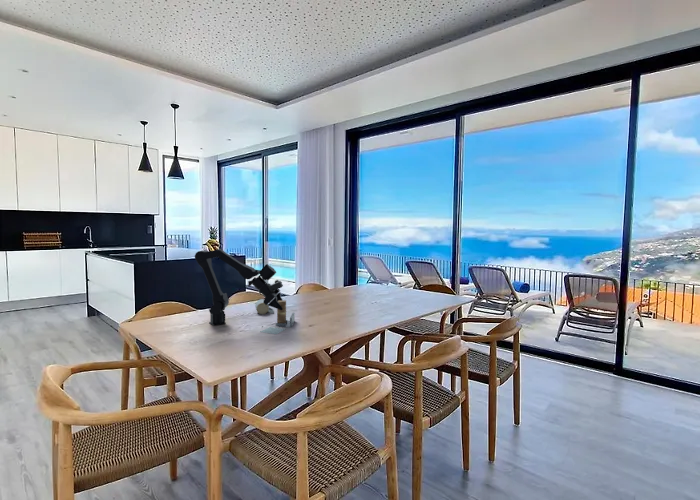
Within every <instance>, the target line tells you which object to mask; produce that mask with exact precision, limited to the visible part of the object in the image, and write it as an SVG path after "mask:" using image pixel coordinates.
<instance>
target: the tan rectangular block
mask: <svg viewBox="0 0 700 500" xmlns="http://www.w3.org/2000/svg"><path fill="white" fill-rule="evenodd" d="M278 302H279V304H280V305H281V307H282V308H283V309H282V310H279V309H277V308H276V315H277V316H276V323H286V320H287V300H285V299H282V300H278Z"/></svg>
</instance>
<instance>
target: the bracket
mask: <svg viewBox="0 0 700 500" xmlns="http://www.w3.org/2000/svg"><path fill="white" fill-rule="evenodd" d="M295 316H296V314H295V312H292V313H291V315H290V317H289V320H288V319H286V323H277V322H275V326H276V327H278V328H292V327H293V326H294V323H295Z"/></svg>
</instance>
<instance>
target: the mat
mask: <svg viewBox="0 0 700 500" xmlns="http://www.w3.org/2000/svg"><path fill="white" fill-rule="evenodd" d="M285 330H286V328H282V327H274V326H273V327H272V326H269V327H266V328H265V329H262V330H260V333H265V334H272V335H277V334H279V333H282V332H284V331H285Z"/></svg>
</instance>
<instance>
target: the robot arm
mask: <svg viewBox="0 0 700 500" xmlns="http://www.w3.org/2000/svg"><path fill="white" fill-rule="evenodd" d="M212 258H213V259H215V258H218V259H219V260H221V261H222V262H224V263H226V264H227V265H229V266H230V267H232V268H233V269H234V270H235V271H237V272H238V274H239V275H240V276H241V277H242V278H243V279H245V280H248V281H247V282H248V284H247V286H248V287H251V286H253V287H255V289H257V290H258V293H259V294H260V295H263V297H264V304H265V305H267V304H268V306H269V307H270V308H274V309H276V310H277V309H279V310H282V309H283V308H282V307H281V305H280V304H279V302H278V300H283V298H282V296H281V290H280V289H281V288H283V287H284V285H283V282H282V281H281V280H279V279H276V280H274V283H272V284H271V283H267V281H269V280H270V279H271V278H273V277H274V276H275V275H276V274H277V271H276V269H275V268H274V267H272V266H271V265H269V264H268V263H266V264H265V265H264V267H263V268H261V269H260V270H259V269H255V267H252V266H250V265H248V264H245V263H242V262H240V261H239V260H237V259H236V258H235V257H233V256H232V255H230V254H229V253H227V252H226V251H224V250H223V249H222V248H219V249H215V250H211V251H209V250H206V249H204V250H198V251H197V252H195V254H194V259H195V261H196V263H197V264H198V265H199V267H200V268H202V271H203V274H204V276H205V278H206V281H207V284H208V286H209V289H210V291H211V295H212V304H213V306H211V307H210V308H209V309H208V311H209V314H210V315H209V316H210V321H209V322H208V323H209V324H211V325H212V326H219V325H225V324H227V322H226V313H225V309H226V308H227V307H228V305H229V303H230V302H229V300H230V298H229V297H228V293H227V292H225V293H224V292H223V291H222V288H221V286H220V284H219V281H218V279H217V276H216V274H215V271H214V269H213V266H212V265H213V264H212Z"/></svg>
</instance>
